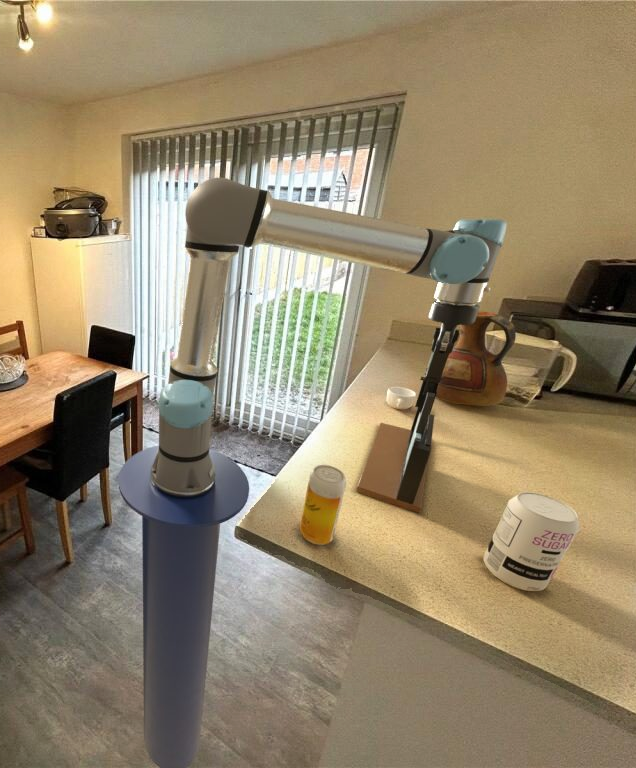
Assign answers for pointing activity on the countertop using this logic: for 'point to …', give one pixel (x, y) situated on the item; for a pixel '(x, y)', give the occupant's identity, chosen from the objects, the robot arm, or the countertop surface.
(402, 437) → the brown base with upright
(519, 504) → the supplement can
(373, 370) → the countertop surface
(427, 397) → the black slab
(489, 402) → the ceramic pitcher
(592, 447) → the countertop surface
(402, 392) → the teacup
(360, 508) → the countertop surface
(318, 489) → the yellow drink can
